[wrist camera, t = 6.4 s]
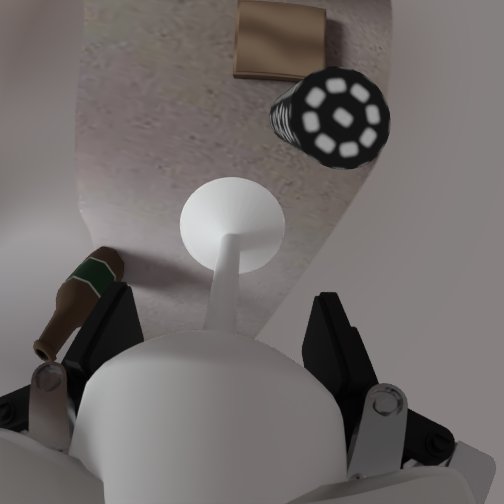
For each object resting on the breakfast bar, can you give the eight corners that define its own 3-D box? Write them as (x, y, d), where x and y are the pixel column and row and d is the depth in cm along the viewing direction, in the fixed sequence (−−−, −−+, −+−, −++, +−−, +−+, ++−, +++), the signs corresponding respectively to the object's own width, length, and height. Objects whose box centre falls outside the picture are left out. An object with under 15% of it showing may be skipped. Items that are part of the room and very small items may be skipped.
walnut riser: (238, 9, 28) (237, -1, 24) (320, 17, 28) (326, 8, 24) (234, 78, 33) (232, 73, 29) (318, 85, 33) (325, 81, 30)
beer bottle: (132, 262, 46) (71, 361, 25) (116, 288, 49) (61, 382, 28) (99, 237, 44) (21, 322, 23) (85, 265, 47) (19, 349, 25)
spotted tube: (258, 125, 36) (267, 130, 19) (289, 80, 33) (326, 46, 15) (306, 156, 38) (354, 189, 21) (336, 112, 35) (406, 112, 17)
